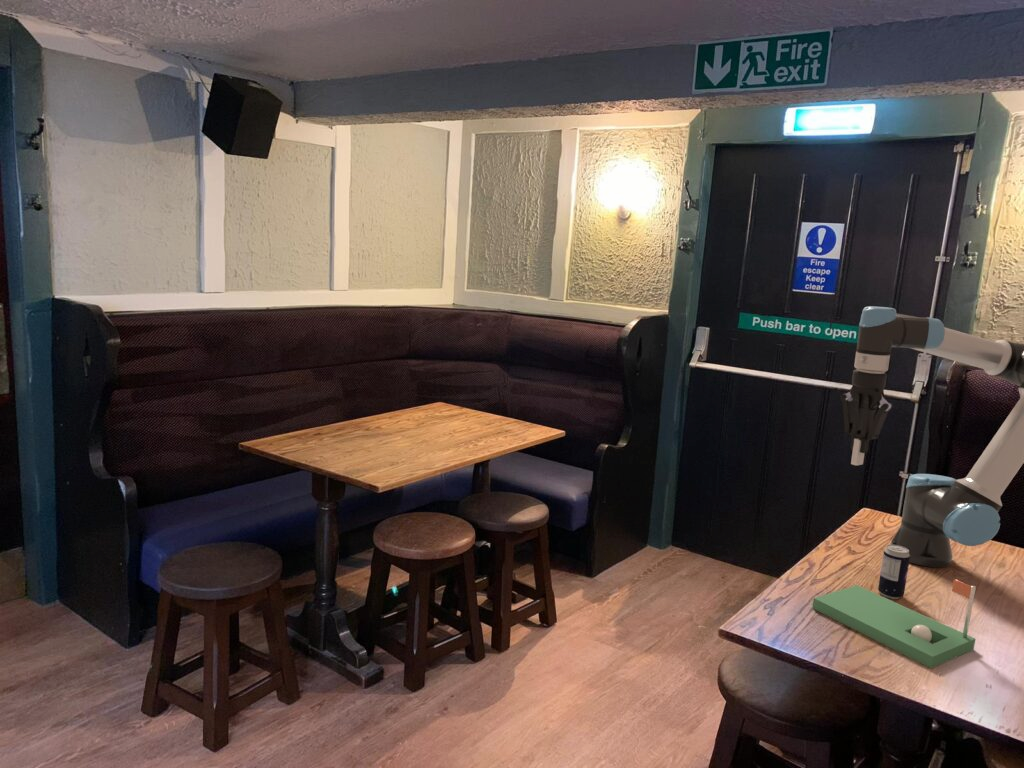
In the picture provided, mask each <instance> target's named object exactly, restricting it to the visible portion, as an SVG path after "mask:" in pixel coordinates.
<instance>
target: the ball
mask: <svg viewBox="0 0 1024 768" xmlns="http://www.w3.org/2000/svg"><path fill="white" fill-rule="evenodd" d="M911 634H912V635H914V636H917V637H919V638H921V639H923V640H925V641H927V642H929V643H931V642H932V641H931V639H932V633H931V631H930V629H929V628H928V627H926V626H924V625H916V626H914V627H913V628H912V629H911Z"/></svg>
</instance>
